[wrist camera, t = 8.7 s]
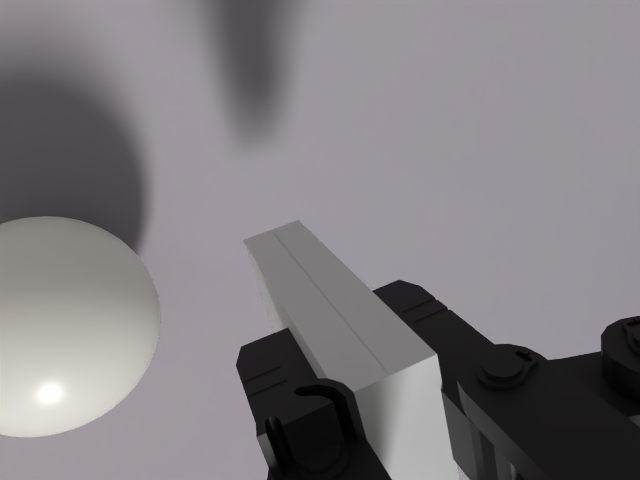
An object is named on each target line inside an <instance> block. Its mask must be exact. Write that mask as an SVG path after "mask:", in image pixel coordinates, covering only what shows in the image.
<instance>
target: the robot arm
mask: <svg viewBox="0 0 640 480" xmlns="http://www.w3.org/2000/svg"><path fill="white" fill-rule="evenodd" d="M243 242H244V245H245V248H246V251H247V254H248V257H249V259H250V262H251V265H252V268H253V271H254V274H255V277H256V280H257V283H258V286H259V289H260V292H261V295H262V298H263V301H264V304H265V307H266V310H267V313H268V316H269V319H270V322H271V325H272V328H273V330H274V332H275V333H273V334H271V335H268V336H266V337H264V338H261V339H259V340H256V341H254V342H251V343H249V344H247V345H244V346H242V347H241V349H240V352H239V356H238V360H237V363H236V367H237V370H238V373H239V376H240V379H241V382H242V384H243V387H244V390H245V393H246V396H247V399H248V402H249V405H250V408H251V411H252V414H253V416H254V419H255V422H256V433H257V439H258V442H259V444H260V447H261V449H262V452H263V454H264V457H265V459H266V462H267V464H268V467H269V470H268V478H267V480H459V474H458V468H457V464H458V465H459V467H460V468H461V469H462V470H463V472H464V473H465V474H466V475H467V477H468V478H469V479H470V480H640V316H635V317H630V318H625V319H620V320H618V321H616V322H614V323H613V324H611V325H609V326H607V328H606V329H605V331H604V332H603V334H602V335H601V351H600V352H595V353H589V354H584V355H579V356H573V357H568V358H563V359H554V360H547V359H546V358H545V357H543V356H542V355H540V354H538V353H536V352H534V351H532V350H530V349H528V348H526V347H522V346H517V345H512V344H495V345H494V344H493V343H492V342H491V341H489V340H488V339H487V338H485V337H484V336H483V335H482V334H480V333H479V332H478V331H477V330H475V329H474V328H473V327H472V326H470V325H469V324H468V323H466V322H465V321H464V320H463V319H461V318H460V317H459V316H458V315H456V314H455V313H454V312H453V311H451V310H448V309H447V307H446V306H445V305H444V304H442V303H441V302H440V301H439V300H436V299H435V297H434V296H432V295H431V294H430V293H428V292H427V291H426V290H425V289H423V288H422V287H421V286H418V285H415V284H412V283H408V282H405V281H402V280H397V281H395V282H393V283H390V284H388V285H385V286H383V287H380V288H378V289H376V290H373V291H371V290H370V289H369V288H368V287H367V286H366V285H365V284H364V283H363V282H362V281H361V280H360V279H359V278H358V277H357V276H356V275H355V274H354V273H353V272H352V271H351V270H350V269H349V268H348V267H347V266H345V265H344V264H343V263H342V262H341V261H340V260H339V259H338V258H337V257H336V256H335V255H334V254H333V253H332V252H331V251H330V250H329V249H328V248H327V247H326V246H325V245H324V244H323V243H322V242H321V241H320V240H319V239H318V238H317V237H316V236H314V235H313V234H312V233H311V232H310V231H309V230H308V229H307V228H306V227H305V226H304V225H303V224H302V223H301V222H300V221H299V220H298V221H295V222H292V223H289V224H287V225H284V226H281V227H278V228H276V229H273V230H270V231H267V232H265V233H262V234H259V235H256V236H254V237H251V238H248V239H245V240H243Z"/></svg>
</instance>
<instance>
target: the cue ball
mask: <svg viewBox="0 0 640 480" xmlns="http://www.w3.org/2000/svg"><path fill="white" fill-rule="evenodd" d="M159 332H160V304H159V298H158V294H157V291H156V288H155V285H154V282H153V279H152V277H151V275H150V273H149V271H148V270H147V268H146V266H145V265H144V264H143V262H142V261H141V259H140V258H139V257H138V256H137V255H136V253H135V252H134V251H133V250H132V249H131V248H130V247H129V246H128V245H127V244H125V243H124V242H123V241H121V240H120V239H119V238H118V237H116V236H114V235H112V234H111V233H109V232H107V231H106V230H104V229H102V228H100V227H97V226H95V225H92V224H90V223H87V222H83V221H80V220H76V219H71V218H65V217H52V216H41V217H27V218H22V219H17V220H12V221H8V222H5V223H2V224H0V434H1V435H7V436H14V437H39V436H48V435H53V434H58V433H62V432H65V431H69V430H72V429H75V428H77V427H80V426H82V425H85V424H87V423H89V422H91V421H93V420H95V419H97V418H99V417H100V416H102V415H103V414H105V413H106V412H108V411H109V410H111V409H112V408H113V407H115V406H116V405H117V404H118V403H120V402H121V401H122V400H123V399H124V398H125V397H126V396H127V395H128V394H129V393H130V392H131V391H132V390H133V388H134V387H135V386H136V385H137V384H138V382H139V381H140V379H141V378H142V376H143V375H144V373H145V372H146V370H147V368H148V366H149V364H150V362H151V360H152V357H153V354H154V352H155V349H156V346H157V342H158V338H159Z"/></svg>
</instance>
